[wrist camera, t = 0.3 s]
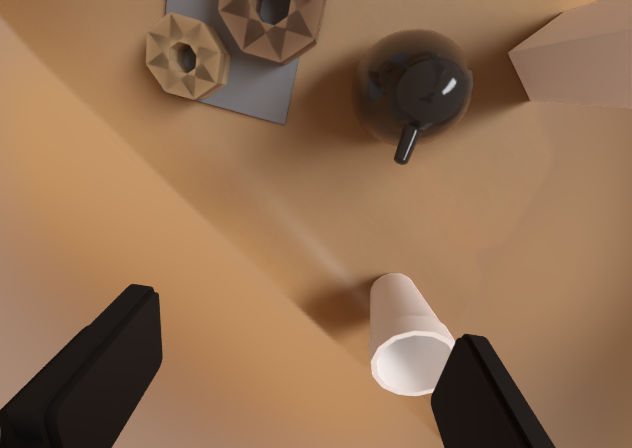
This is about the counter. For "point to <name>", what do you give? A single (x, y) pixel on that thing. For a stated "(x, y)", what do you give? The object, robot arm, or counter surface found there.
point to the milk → (580, 57)
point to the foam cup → (405, 338)
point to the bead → (273, 28)
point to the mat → (244, 64)
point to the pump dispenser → (411, 89)
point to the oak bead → (169, 53)
